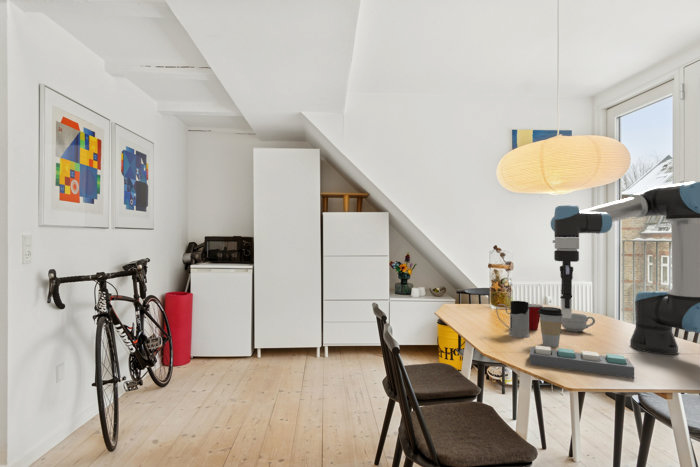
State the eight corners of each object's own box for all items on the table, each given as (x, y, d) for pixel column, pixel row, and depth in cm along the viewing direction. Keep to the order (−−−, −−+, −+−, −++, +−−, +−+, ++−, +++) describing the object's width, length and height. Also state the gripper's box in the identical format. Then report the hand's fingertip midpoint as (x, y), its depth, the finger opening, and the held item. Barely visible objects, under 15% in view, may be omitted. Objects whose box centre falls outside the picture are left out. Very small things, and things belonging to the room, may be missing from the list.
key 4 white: (550, 353, 141) (550, 347, 141) (550, 357, 137) (550, 350, 137) (535, 351, 143) (535, 345, 143) (535, 355, 139) (535, 348, 139)
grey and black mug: (531, 338, 172) (531, 304, 172) (497, 336, 176) (497, 302, 176) (528, 333, 181) (528, 301, 181) (495, 331, 184) (495, 299, 185)
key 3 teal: (573, 356, 138) (573, 349, 138) (574, 360, 133) (574, 353, 133) (558, 354, 140) (558, 347, 140) (558, 358, 136) (558, 351, 136)
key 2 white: (597, 359, 135) (597, 352, 135) (599, 363, 130) (599, 356, 130) (581, 357, 137) (581, 350, 137) (582, 361, 132) (582, 354, 132)
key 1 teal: (623, 362, 131) (623, 355, 131) (625, 366, 127) (625, 359, 127) (606, 360, 134) (606, 353, 134) (608, 364, 129) (608, 357, 129)
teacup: (557, 330, 187) (557, 313, 188) (565, 327, 195) (565, 310, 195) (590, 336, 178) (590, 318, 178) (597, 332, 185) (597, 315, 185)
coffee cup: (566, 349, 156) (566, 311, 156) (541, 347, 158) (541, 310, 158) (559, 342, 166) (559, 307, 166) (535, 341, 167) (535, 306, 168)
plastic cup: (534, 326, 197) (534, 302, 197) (548, 331, 186) (548, 305, 186) (514, 326, 195) (514, 302, 195) (526, 331, 184) (527, 306, 185)
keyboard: (628, 368, 133) (628, 358, 133) (634, 378, 124) (634, 367, 124) (530, 356, 146) (530, 347, 146) (529, 364, 137) (529, 354, 137)
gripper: (553, 248, 148) (553, 310, 147) (555, 250, 130) (554, 320, 129) (576, 249, 144) (576, 311, 144) (581, 251, 126) (581, 322, 126)
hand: (566, 315), depth 137 cm, fingers open, 7 cm apart
